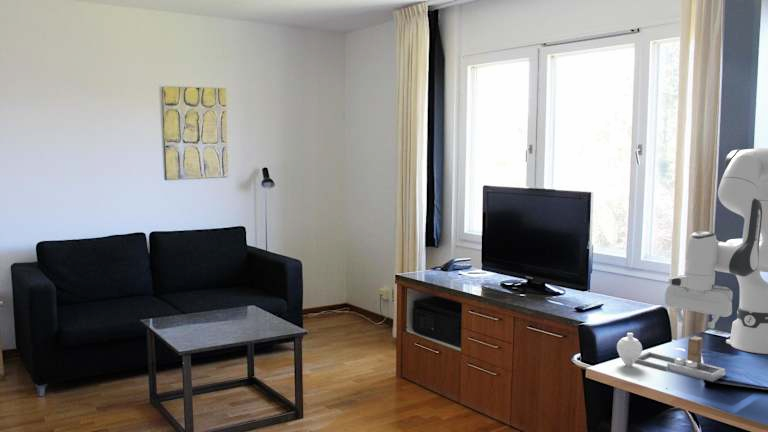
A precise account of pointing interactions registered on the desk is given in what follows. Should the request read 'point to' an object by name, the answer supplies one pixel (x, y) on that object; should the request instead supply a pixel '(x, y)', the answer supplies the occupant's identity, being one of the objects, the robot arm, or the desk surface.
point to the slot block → (699, 371)
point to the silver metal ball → (691, 364)
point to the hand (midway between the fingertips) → (695, 325)
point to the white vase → (629, 349)
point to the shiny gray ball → (679, 361)
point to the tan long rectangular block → (695, 349)
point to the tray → (653, 363)
